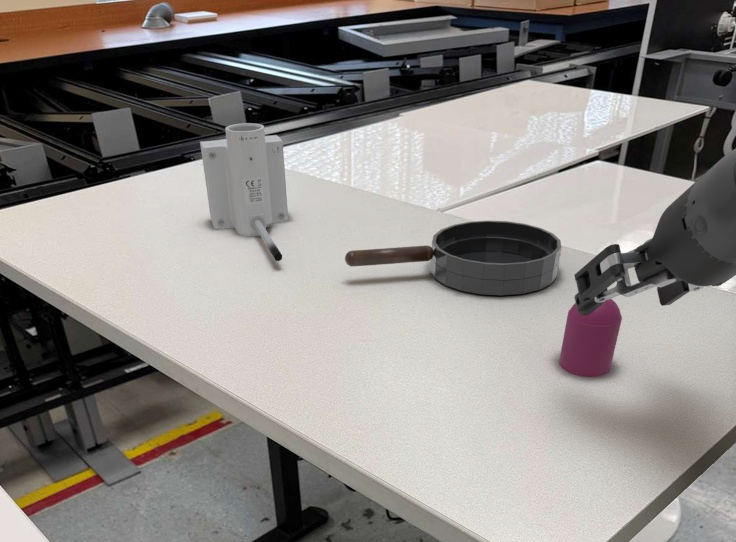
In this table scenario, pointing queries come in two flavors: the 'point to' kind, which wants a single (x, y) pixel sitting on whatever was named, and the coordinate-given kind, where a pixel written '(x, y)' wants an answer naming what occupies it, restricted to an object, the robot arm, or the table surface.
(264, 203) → the electronic device
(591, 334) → the magenta domed cylinder
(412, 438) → the table surface
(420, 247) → the pan handle
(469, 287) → the pan
